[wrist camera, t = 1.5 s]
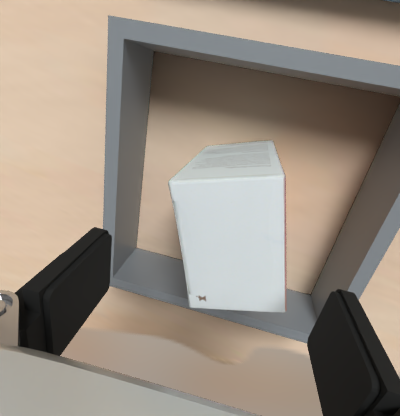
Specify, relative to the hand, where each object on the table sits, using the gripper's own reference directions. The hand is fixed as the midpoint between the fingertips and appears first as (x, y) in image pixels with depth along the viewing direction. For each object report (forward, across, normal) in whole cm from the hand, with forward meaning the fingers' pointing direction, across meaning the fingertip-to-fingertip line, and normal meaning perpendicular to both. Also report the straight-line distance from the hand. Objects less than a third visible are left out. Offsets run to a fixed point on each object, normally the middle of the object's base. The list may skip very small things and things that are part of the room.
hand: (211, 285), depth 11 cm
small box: (+13, -1, 0) cm, 13 cm away
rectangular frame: (+13, -1, 0) cm, 13 cm away
